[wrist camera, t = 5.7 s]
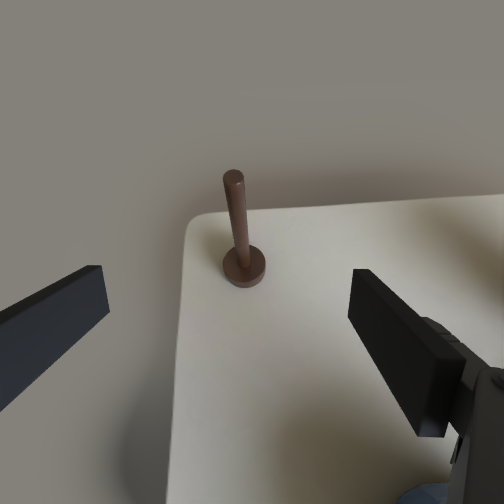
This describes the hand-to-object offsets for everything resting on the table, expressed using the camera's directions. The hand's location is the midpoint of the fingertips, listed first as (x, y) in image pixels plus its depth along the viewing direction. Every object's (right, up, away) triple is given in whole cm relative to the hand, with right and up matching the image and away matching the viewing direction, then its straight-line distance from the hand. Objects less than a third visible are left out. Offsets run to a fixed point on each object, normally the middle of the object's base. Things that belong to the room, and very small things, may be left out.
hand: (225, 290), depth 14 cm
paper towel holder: (+1, 0, +17) cm, 17 cm away
